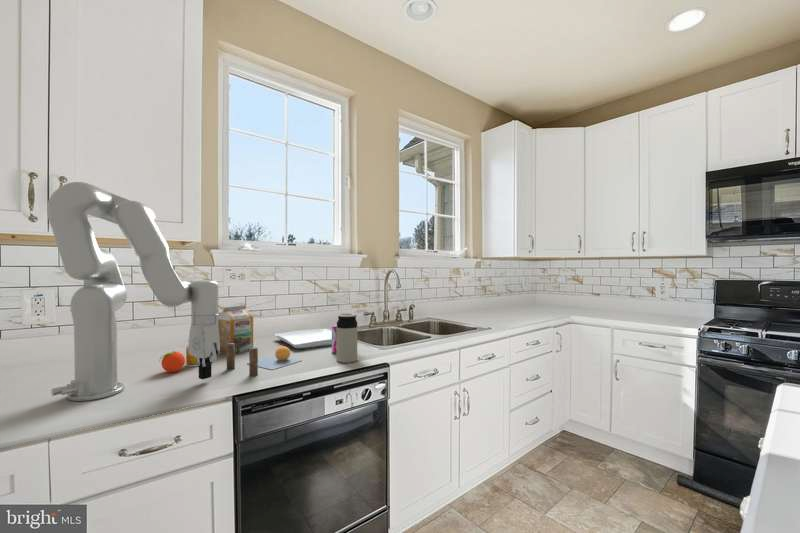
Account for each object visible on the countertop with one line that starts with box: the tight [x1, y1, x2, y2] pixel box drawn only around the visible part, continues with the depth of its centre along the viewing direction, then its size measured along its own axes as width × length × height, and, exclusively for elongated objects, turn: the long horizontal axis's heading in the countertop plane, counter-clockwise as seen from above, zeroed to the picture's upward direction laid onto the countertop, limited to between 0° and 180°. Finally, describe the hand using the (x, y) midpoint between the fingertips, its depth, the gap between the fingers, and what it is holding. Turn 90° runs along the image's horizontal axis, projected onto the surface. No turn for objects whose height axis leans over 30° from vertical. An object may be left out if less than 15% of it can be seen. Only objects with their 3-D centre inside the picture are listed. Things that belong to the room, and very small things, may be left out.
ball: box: [274, 345, 291, 361], centre depth 141 cm, size 6×6×6 cm
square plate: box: [274, 328, 332, 349], centre depth 174 cm, size 27×27×4 cm
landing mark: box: [246, 355, 303, 371], centre depth 138 cm, size 14×14×1 cm
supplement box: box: [331, 324, 337, 355], centre depth 154 cm, size 6×6×12 cm
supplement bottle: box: [185, 338, 199, 368], centre depth 134 cm, size 5×5×10 cm
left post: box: [226, 343, 236, 371], centre depth 130 cm, size 3×3×9 cm
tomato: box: [158, 350, 186, 373], centre depth 126 cm, size 8×7×7 cm
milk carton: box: [218, 304, 254, 355], centre depth 156 cm, size 11×11×19 cm
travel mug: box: [336, 312, 358, 364], centre depth 142 cm, size 8×8×18 cm
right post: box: [248, 347, 259, 377], centre depth 123 cm, size 3×3×9 cm
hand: (205, 377), depth 115 cm, fingers closed
